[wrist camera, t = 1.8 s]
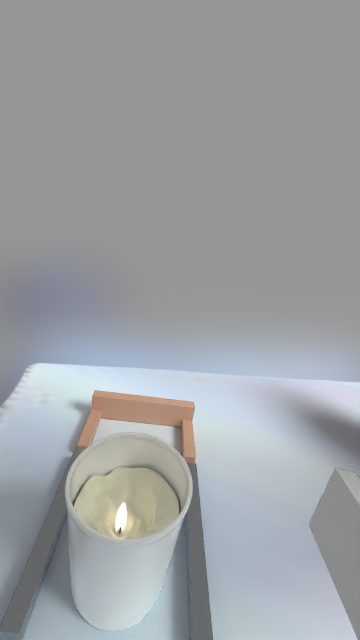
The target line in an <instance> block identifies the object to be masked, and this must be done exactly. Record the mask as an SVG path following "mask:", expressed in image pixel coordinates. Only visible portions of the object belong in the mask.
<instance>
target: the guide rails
mask: <svg viewBox="0 0 360 640" xmlns="http://www.w3.org/2000/svg"><path fill="white" fill-rule="evenodd" d="M80 453H81V452H77V451H74V452H73V455H72V457H71V460H70V462H69V464H68V467H67V469H66V472H65V474H64V476H63V479H62V481H61V483H60V486H59V488H58V491H57V493H56V495H55V498H54V500H53V503H52V505H51V507H50V510H49V512H48V514H47V517H46V519H45V522H44V524H43V526H42V529H41V531H40V533H39V536H38V538H37V541H36V543H35V545H34V548H33V550H32V553H31V555H30V557H29V560H28V562H27V564H26V567H25V569H24V572H23V574H22V576H21V579H20V581H19V584H18V586H17V588H16V591H15V593H14V595H13V598H12V600H11V603H10V605H9V607H8V610H7V612H6V615H5V617H4V619H3V622H2V624H1V626H0V640H22V638H23V635H24V632H25V629H26V626H27V624H28V621H29V618H30V615H31V612H32V609H33V607H34V604H35V601H36V598H37V595H38V593H39V590H40V587H41V584H42V581H43V579H44V576H45V573H46V570H47V567H48V565H49V562H50V559H51V556H52V553H53V551H54V548H55V545H56V542H57V539H58V536H59V534H60V531H61V528H62V525H63V522H64V520H65V517H66V514H67V504H66V499H65V484H66V479H67V475H68V472H69V470H70V468H71V466H72V464H73V462H74V461H75V460H76V458H77V457H78V456H79V455H80ZM187 465H188V467H189V470H190V473H191V477H192V485H193V489H192V498H191V502H190V505H189V508H188V510H187V512H186V514H185V524H186V548H187V571H188V595H189V619H190V640H213V634H212V623H211V613H210V603H209V592H208V582H207V571H206V561H205V550H204V540H203V530H202V519H201V509H200V498H199V488H198V477H197V467H196V464H195V463H187Z"/></svg>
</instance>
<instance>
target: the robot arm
mask: <svg viewBox="0 0 360 640" xmlns="http://www.w3.org/2000/svg"><path fill="white" fill-rule="evenodd" d="M309 526H310V528H311V530H312V533H313V535H314V537H315V540H316V542H317V544H318V547H319V549H320V551H321V554H322V556H323V558H324V561H325V563H326V566H327V568H328V570H329V573H330V575H331V577H332V580H333V582H334V584H335V587H336V589H337V591H338V594H339V596H340V598H341V601H342V603H343V605H344V608H345V610H346V612H347V615H348V617H349V619H350V622H351V624H352V626H353V629H354V631H355V634H356V636H357V638H358V640H360V478H359V477H358V476H357V474H356V473H355V472H352V471H347V470H343V469H338V468H335V470H334V472H333V474H332V476H331V478H330V480H329V482H328V484H327V486H326V489H325V491H324V493H323V495H322V497H321V499H320V501H319V503H318V505H317V508H316V510H315V512H314V514H313V516H312V518H311V520H310V522H309Z"/></svg>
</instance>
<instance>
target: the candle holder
mask: <svg viewBox="0 0 360 640" xmlns="http://www.w3.org/2000/svg"><path fill="white" fill-rule="evenodd" d="M192 489H193V485H192V477H191V473H190V470H189V467H188V465H187V463H186V461H185V460H184V458H183V457H182V456H181V454H180V453H179V452H178V451H177V450H176V449H175V448H174V447H173V446H171V445H170V444H168V443H167V442H165V441H163V440H162V439H159V438H157V437H154V436H151V435H148V434H143V433H133V432H128V433H119V434H114V435H110V436H107V437H104V438H102V439H100V440H98V441H96V442H94V443H93V444H91V445H90V446H88V447H87V448H86V449H85V450H83V451H82V452H81V453H80V455H79V456H78V457H77V458H76V460H75V461H74V462H73V464H72V466H71V468H70V470H69V472H68V475H67V479H66V484H65V499H66V504H67V520H68V539H69V559H70V576H71V588H72V594H73V599H74V602H75V605H76V607H77V609H78V611H79V613H80V614H81V616H82V617H83V618H84V619H85V620H86V621H87V622H88V623H89V624H90V625H92V626H93V627H95V628H97V629H100V630H103V631H111V632H113V631H121V630H125V629H127V628H130V627H132V626H134V625H135V624H137V623H138V622H140V621H141V620H142V619H143V618H144V617H145V616H146V615H147V614H148V613H149V612H150V610H151V609H152V607H153V606H154V604H155V602H156V601H157V599H158V596H159V594H160V592H161V589H162V586H163V583H164V580H165V577H166V574H167V571H168V568H169V565H170V562H171V558H172V555H173V552H174V549H175V546H176V543H177V539H178V536H179V533H180V530H181V527H182V524H183V520H184V517H185V514H186V512H187V510H188V508H189V505H190V502H191V498H192Z"/></svg>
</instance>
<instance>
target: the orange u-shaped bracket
mask: <svg viewBox="0 0 360 640" xmlns="http://www.w3.org/2000/svg"><path fill="white" fill-rule="evenodd" d="M194 409H195V406H194V402H190V401H181V400H173V399H164V398H156V397H148V396H139V395H131V394H122V393H114V392H105V391H97V390H95V391H94V394H93V396H92V410H91V412H90V414H89V417H88V419H87V421H86V424H85V426H84V429H83V431H82V433H81V436H80V438H79V441H78V443H77V445H76V451H77V452H82V451H83V450H85V449H86V448H87V447H88V446H90V445H91V444H92V441H93V438H94V435H95V433H96V430H97V427H98V424H99V421H100V419H101V418H104V419H113V420H122V421H131V422H140V423H149V424H158V425H167V426H176V427H181V430H182V453H183V458H184V460H185V461H186V463H195V458H196V457H195V446H194V436H193V425H192V419H193V414H194Z"/></svg>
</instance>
